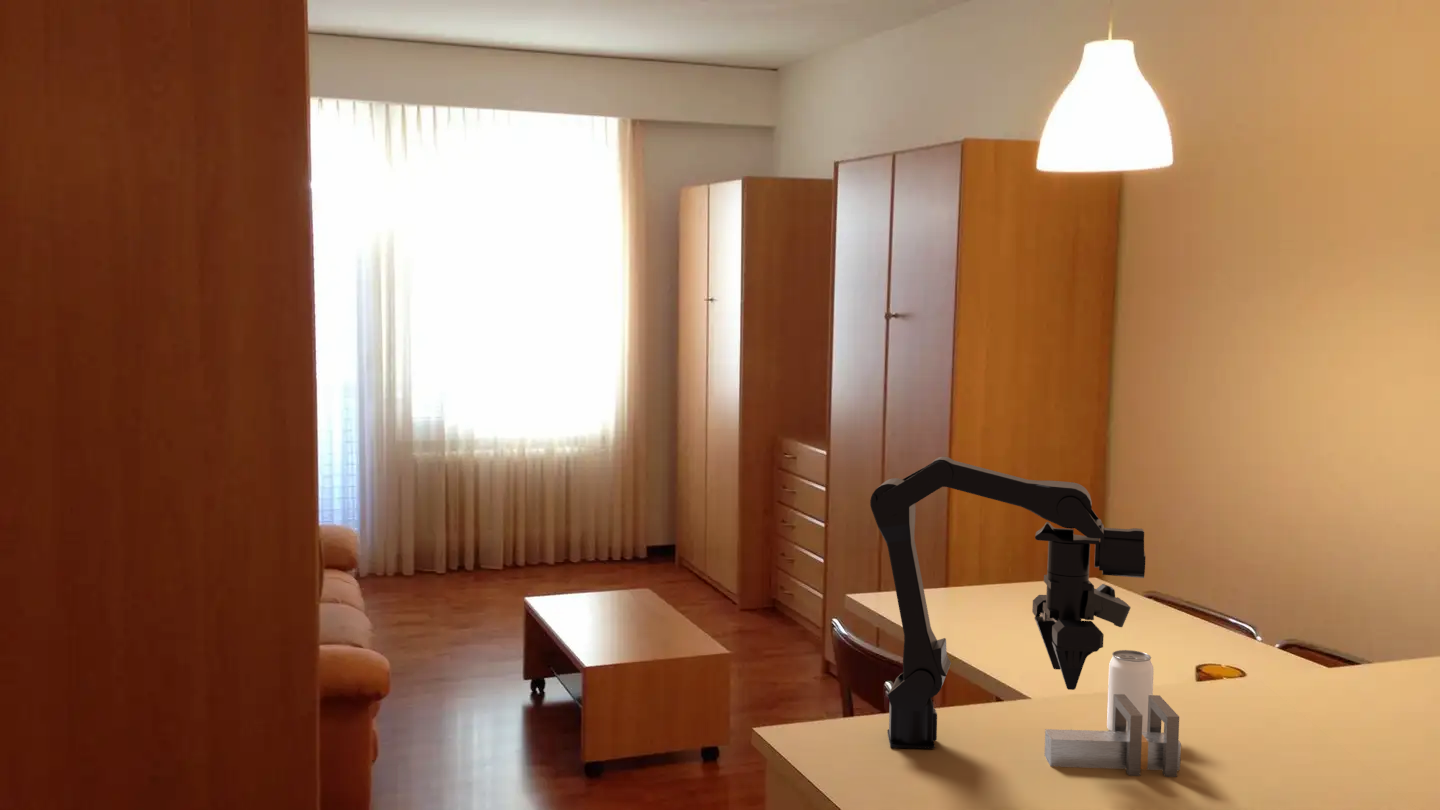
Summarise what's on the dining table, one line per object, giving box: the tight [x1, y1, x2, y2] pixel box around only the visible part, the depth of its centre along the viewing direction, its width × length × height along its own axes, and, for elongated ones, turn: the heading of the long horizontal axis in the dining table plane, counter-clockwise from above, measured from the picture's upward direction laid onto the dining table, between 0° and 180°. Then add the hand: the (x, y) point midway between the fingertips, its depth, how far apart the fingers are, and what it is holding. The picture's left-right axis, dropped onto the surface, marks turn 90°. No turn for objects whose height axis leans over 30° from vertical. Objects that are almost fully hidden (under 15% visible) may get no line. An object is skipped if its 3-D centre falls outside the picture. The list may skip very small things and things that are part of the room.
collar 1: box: [1112, 694, 1143, 777], centre depth 169 cm, size 2×9×9 cm, turn 176°
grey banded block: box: [1044, 728, 1182, 771], centre depth 170 cm, size 18×4×4 cm, turn 86°
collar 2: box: [1147, 694, 1180, 778], centre depth 169 cm, size 2×9×9 cm, turn 176°
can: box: [1106, 649, 1154, 732], centre depth 182 cm, size 6×6×12 cm
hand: (1063, 678), depth 170 cm, fingers open, 9 cm apart
